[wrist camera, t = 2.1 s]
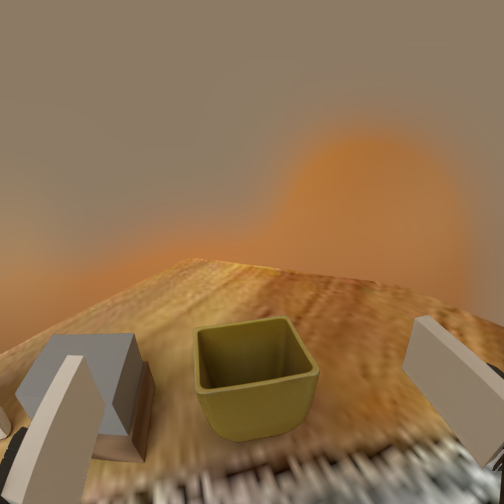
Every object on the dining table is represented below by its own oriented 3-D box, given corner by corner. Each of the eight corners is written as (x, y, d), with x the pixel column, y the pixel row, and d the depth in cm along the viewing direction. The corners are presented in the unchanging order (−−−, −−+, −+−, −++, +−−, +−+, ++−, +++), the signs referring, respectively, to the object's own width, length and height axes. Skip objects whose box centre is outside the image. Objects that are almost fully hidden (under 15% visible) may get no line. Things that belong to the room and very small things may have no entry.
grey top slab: (143, 363, 29) (133, 332, 27) (128, 435, 19) (111, 403, 18) (64, 363, 27) (52, 334, 26) (34, 424, 18) (14, 394, 17)
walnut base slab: (155, 387, 30) (147, 361, 29) (145, 465, 20) (131, 441, 19) (74, 386, 29) (62, 361, 28) (47, 452, 19) (28, 427, 17)
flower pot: (206, 395, 29) (192, 325, 26) (287, 382, 30) (287, 312, 27) (214, 461, 21) (194, 393, 18) (313, 443, 22) (322, 372, 19)
